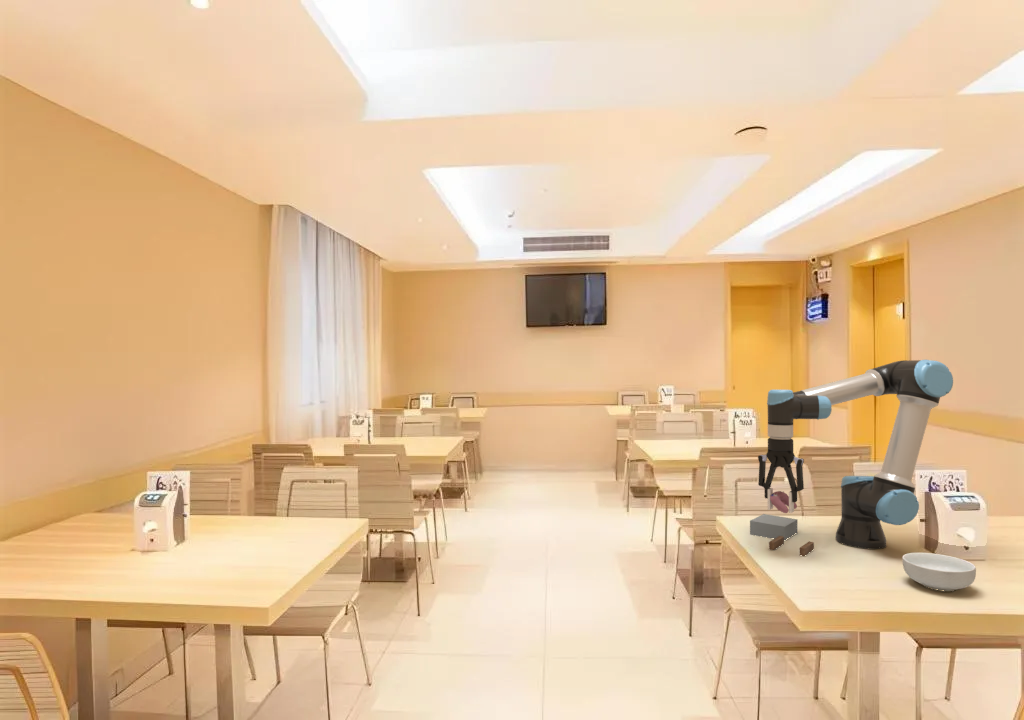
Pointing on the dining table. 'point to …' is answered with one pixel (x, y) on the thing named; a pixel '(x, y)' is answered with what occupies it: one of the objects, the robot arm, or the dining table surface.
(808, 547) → the walnut guide rails
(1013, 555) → the dining table surface
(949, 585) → the cereal bowl
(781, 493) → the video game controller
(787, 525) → the charcoal stand
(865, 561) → the dining table surface
